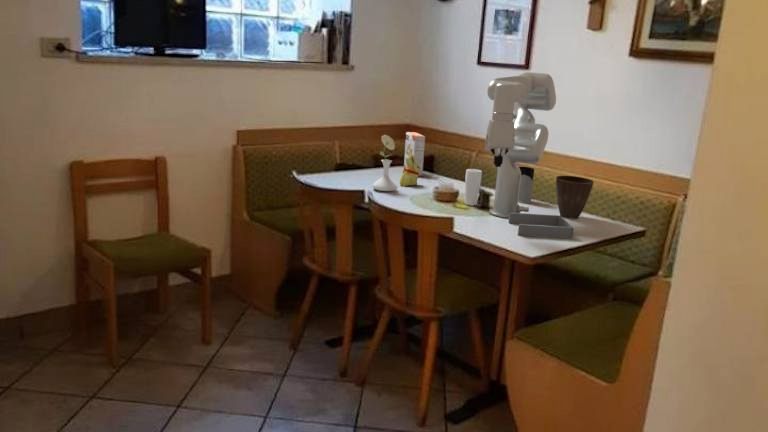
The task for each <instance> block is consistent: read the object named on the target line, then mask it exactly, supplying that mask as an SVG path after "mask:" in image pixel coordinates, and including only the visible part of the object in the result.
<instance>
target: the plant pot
mask: <svg viewBox="0 0 768 432" xmlns="http://www.w3.org/2000/svg"><path fill="white" fill-rule="evenodd" d="M555 186H556V187H555V188H556V191H555V192H556V201H557V208H558V212H559V216H561V217H562V218H563V219H564V218H565V219H570V220H576V219H577V220H578V219H579V218H580V216H581V214H582V213H583V210H584V209H585V206H586V204H587V202H588V200H589V197H590V195H591V193H592V189H593V186H594V180H592V179H589V178H587V177H582V176H573V175H557V176H556V177H555Z"/></svg>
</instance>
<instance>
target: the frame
mask: <svg viewBox="0 0 768 432" xmlns="http://www.w3.org/2000/svg"><path fill="white" fill-rule="evenodd" d="M508 224H518V229H517V236H521V237H522V236H525V237H541V238H556V239H557V238H559V239H573V236H574V235H573V234H574V229H575V228H574V227H573V226H572V225H571V224H570V223H569V222H568V221H566V219H564V217H561V216H560V215H555V214H538V213H537V214H536V213H525V212H524V213H523V212H520V213H509V218H508ZM526 224H527V225H526ZM542 225H546V226H542Z"/></svg>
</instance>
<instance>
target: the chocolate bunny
mask: <svg viewBox="0 0 768 432" xmlns="http://www.w3.org/2000/svg"><path fill="white" fill-rule="evenodd" d="M406 162H407V168H406V169H405V168H404V167H403V171H402V174H401V178H400V180H399V184H400V186H402V187H408V186H416V185H418V178H419V176H418V175H419V171H420V165H419V164H418V163H417V162H416V161H415V158H414V156H413V154H410V155H409V156H408V157H407V158H406Z"/></svg>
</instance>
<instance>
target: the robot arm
mask: <svg viewBox="0 0 768 432" xmlns="http://www.w3.org/2000/svg"><path fill="white" fill-rule="evenodd" d="M555 88H556V87H555V83H554V79H553V77H552V76H551V74H549V73H540V72H529V71H528V72H522V73H521V74H519V75H514V76H513V75H512V76H506V77H497V78H494V79H493V80H491V81H490V83H489V84H488V86H487V90H486V91H487V97H488V98H489V99H490V100H491V101H493V107H492V117H491V119H490V120H489V121H488V125H487V129H486V135H485V143H484V144H485V147H484V150H486V151H488V152H491V153H492V154H493V165H494V166H495V167H497V173H496V181H495V190H494V191H495V192H494V198H493V199H494V201H493V207H492V208H489V211H488V213H489V214H490V215H492V216H494V217H498V218H507V219H509V213H522V212H524V213H529V211H530V207H529V206H527V207H526V206H525V205H524V206H523V205H521V206H520V205H519V203H518V197H519V189H520V180H521V171H520V168H519V167H520V166H519V165H518V163H521V164H526V165H527V164H530V165H536V164H538V163H539V162H540V160H541V159H542V155H543V154H544V151H545V148H546V146H547V144H548V139H549V128H548V127H547V126H546V125H545V124H542V123H541V124H540V123H536V118H535V116H534V115H533V113H532V112H531V110H536V111H543V112H544V111H546V112H547V111H552V110H553V109H554V108H555V105H556V102H557V95H556V89H555Z"/></svg>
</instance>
